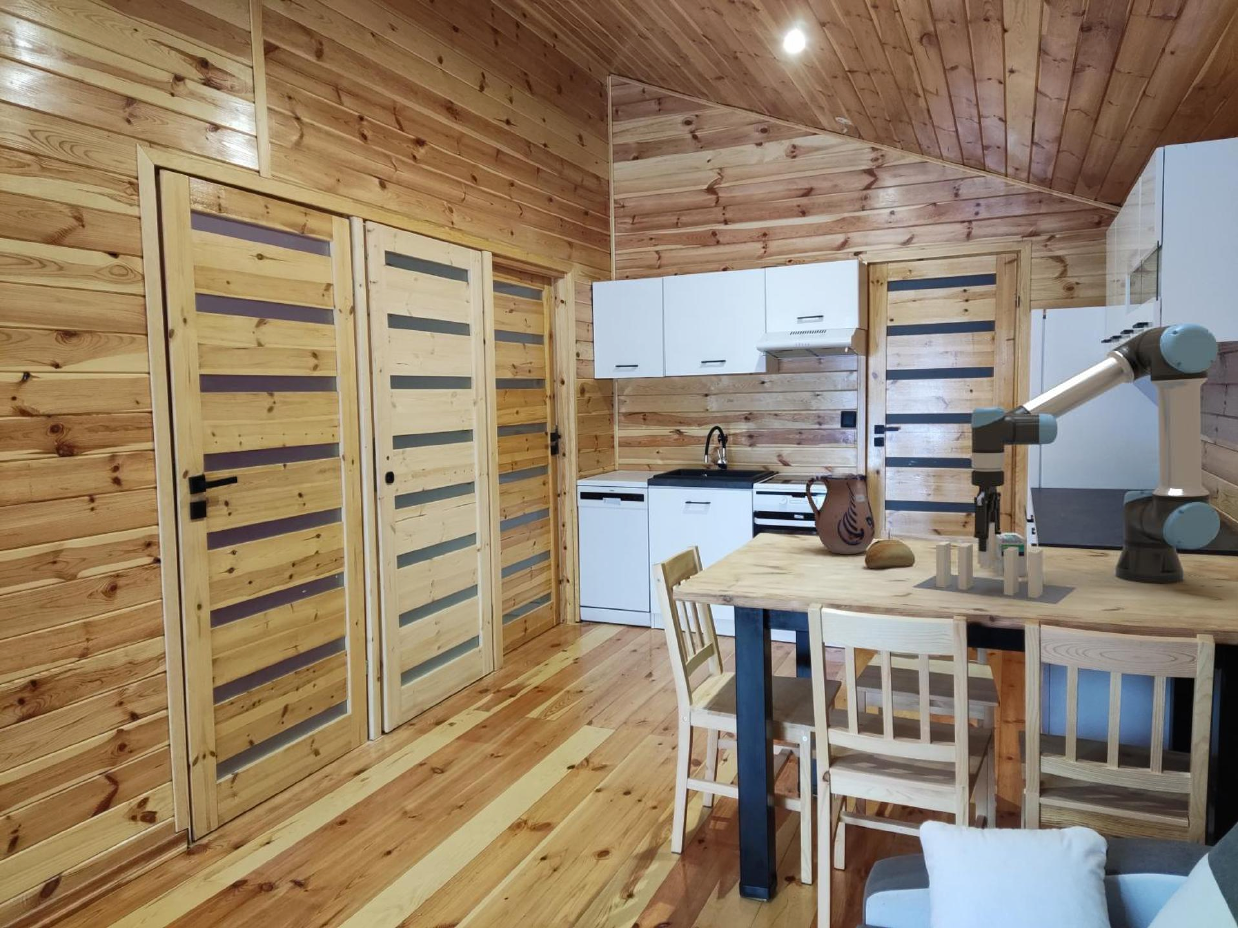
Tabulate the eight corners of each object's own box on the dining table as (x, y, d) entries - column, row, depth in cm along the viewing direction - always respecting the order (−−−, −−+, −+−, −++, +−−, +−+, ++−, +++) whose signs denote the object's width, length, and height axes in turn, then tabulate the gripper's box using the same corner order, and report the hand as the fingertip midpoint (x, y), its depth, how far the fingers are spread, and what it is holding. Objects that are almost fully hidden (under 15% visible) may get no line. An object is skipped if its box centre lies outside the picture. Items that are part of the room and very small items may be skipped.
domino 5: (1042, 594, 207) (1042, 549, 206) (1037, 598, 203) (1037, 552, 203) (1033, 593, 209) (1033, 548, 208) (1028, 597, 205) (1028, 552, 204)
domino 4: (1018, 591, 211) (1018, 547, 210) (1012, 595, 207) (1012, 550, 206) (1010, 590, 212) (1010, 546, 211) (1003, 594, 208) (1003, 550, 207)
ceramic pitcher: (882, 556, 264) (881, 476, 262) (813, 558, 264) (812, 478, 263) (866, 546, 282) (865, 471, 280) (802, 548, 282) (801, 473, 280)
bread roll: (857, 565, 251) (857, 539, 251) (904, 562, 254) (904, 536, 253) (872, 572, 242) (872, 544, 241) (921, 568, 244) (921, 541, 244)
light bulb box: (1027, 578, 228) (1027, 538, 227) (1000, 577, 229) (1000, 538, 228) (1017, 570, 238) (1017, 531, 237) (991, 569, 239) (991, 532, 239)
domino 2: (972, 586, 218) (972, 543, 217) (966, 590, 214) (966, 546, 213) (964, 585, 219) (964, 543, 218) (958, 589, 215) (957, 546, 215)
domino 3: (994, 565, 214) (994, 522, 213) (988, 569, 210) (988, 525, 209) (986, 564, 215) (986, 521, 214) (979, 568, 211) (979, 524, 211)
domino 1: (951, 583, 221) (950, 542, 221) (944, 587, 218) (944, 545, 217) (943, 582, 223) (943, 541, 222) (936, 586, 219) (936, 544, 218)
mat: (1076, 589, 213) (1076, 587, 213) (1056, 605, 198) (1056, 603, 198) (939, 574, 235) (939, 573, 235) (912, 588, 220) (912, 586, 220)
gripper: (983, 466, 220) (983, 555, 222) (959, 472, 206) (959, 566, 208) (1014, 467, 215) (1013, 558, 217) (992, 473, 202) (991, 570, 203)
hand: (987, 562), depth 213 cm, fingers closed on domino 3, 5 cm apart
